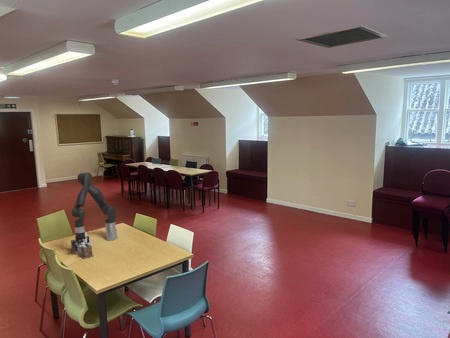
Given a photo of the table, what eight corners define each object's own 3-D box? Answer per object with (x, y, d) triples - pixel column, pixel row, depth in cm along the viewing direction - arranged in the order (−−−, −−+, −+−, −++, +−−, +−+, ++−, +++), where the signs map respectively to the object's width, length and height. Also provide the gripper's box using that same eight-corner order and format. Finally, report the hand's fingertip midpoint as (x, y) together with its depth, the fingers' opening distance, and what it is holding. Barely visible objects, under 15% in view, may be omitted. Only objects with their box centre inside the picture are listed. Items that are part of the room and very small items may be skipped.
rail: (79, 248, 290) (78, 241, 289) (89, 254, 275) (89, 248, 274) (74, 249, 287) (74, 242, 286) (84, 256, 272) (84, 249, 271)
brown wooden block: (79, 247, 294) (78, 238, 292) (93, 256, 274) (92, 246, 272) (70, 250, 288) (69, 240, 287) (84, 259, 268) (83, 248, 267)
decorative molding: (81, 250, 294) (92, 245, 298) (80, 246, 293) (91, 241, 297) (77, 239, 323) (87, 235, 327) (75, 235, 321) (85, 230, 326)
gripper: (86, 228, 286) (87, 245, 288) (69, 232, 275) (71, 250, 278) (90, 230, 280) (91, 248, 283) (73, 234, 270) (74, 252, 273)
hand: (81, 249), depth 280 cm, fingers open, 8 cm apart
